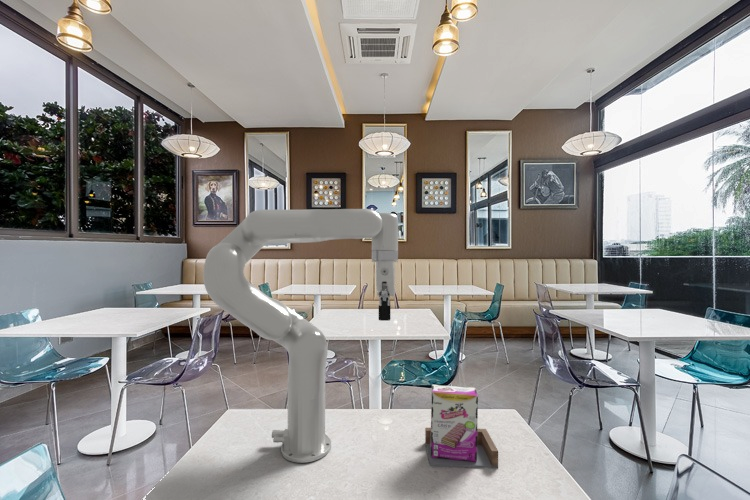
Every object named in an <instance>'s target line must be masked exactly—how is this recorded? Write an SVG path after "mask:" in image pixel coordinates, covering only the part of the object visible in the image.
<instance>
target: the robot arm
mask: <svg viewBox="0 0 750 500" xmlns="http://www.w3.org/2000/svg"><path fill="white" fill-rule="evenodd" d="M348 239H354V240H362V239H371V262H373V263H375V282H376V284H375V285H376V297H377V298H379V303H378V304H379V305H378V321H384V322H385V321H391V300H390V298H391V297H392V298H393V299H394V298H395V294H396V292H395V291H396V290H395V287H396V285H395V283H396V280H395V279H396V277H395V276H396V274H395V273H396V271H395V267H396V266H395V263H398V262H399V218H398V215H397V214H395V213H392V212H391V213H390V212H380V213H379V212H377V211H375V210H374V209H371V208H341V209H340V208H339V209H338V208H335V209H333V208H332V209H325V208H324V209H322V208H321V209H317V208H316V209H257V210H253V211H251V212H250V213H248V214H247V215H246V217H245V218H244V219H243V220H242V221H241V222H240V223H239V224H238V225H237V226H236V227H235V228H234V229H233V230H231V232H230V233H228V234H227V236H225V237H223V239H222V240H221V241H220V242H219V243H217V244H216V245H214V246H213V247H212V248H210V250H209V251H208V253H207V254H206V258H205V260H204V266H203V274H202V275H203V284H204V285H203V286H204V289H205V291H206V293H207V294H208V296H209V298H210V299H211V300H212V301H213V303H214V304H216V305H217V306H218V307H219V308H221V310H223V311H224V312H226V313H227V314H229V315H231V316H232V317H233V318H234V319H236V321H238V322H240V323H241V324H243V325H244V326H245V327H246V328H247V327H248V329H250V330H252V331H253V332H254V333H256V335H257V336H259V337H261V338H263V339H264V340H267V341H273V342H275V343H276V344H279V346H282V347H283V348H284V349H285V350H286V351H287V353H288V368H287V428H284V430H283V429H282V430H281V429H272V431H271V439H272V441H273V443H277V444H278V443H281V446H280V448H281V449H280V453H281V455H282V457H283V458H284V459H286V460H287V461H288V462H293V463H297V464H304V463H305V464H306V463H310V462H311V463H312V462H316V461H317V460H320V459H322V458H324V457H326V455H328V453H329V452H330V450H331V448H332V440H331V438H330V437H329V436H328V435H327V434H326V370H327V368H326V367H327V361H328V360H327V358H328V352H329V351H328V349H329V348H328V343H327V339H326V336H325V335H324V333H323V332H322V331H321V330H320V329H319V328H318V327H317V326H316V325H314V324H312V323H311V322H310V321H308V320H307V319H306V318H305V317H303V316H302V315H300V314H299V313H297V312H295V311H294V309H292V308H290V307H289V306H288V305H286V304H285V303H284V302H282V301H280V300H279V299H277V298H273V297H270V296H268V295H267V294H266V293H264V292H263V291H261V290H260V289H259V288H258V287H257V286H255V285H253V284H252V283H251V282H250V281H249V280H248V279H247V278H246V276H245V273H244V270H245V267H246V264H247V263H248V262H249V261H250V260H252V258H254V256H255V255H256V254H257V253H258V252H260V250H261V249H263V248H264V246H265V245H273V244H274V245H278V244H279V245H280V244H302V243H306V244H307V243H320V242H325V241H330V240H331V241H332V240H348Z"/></svg>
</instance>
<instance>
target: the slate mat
mask: <svg viewBox="0 0 750 500" xmlns="http://www.w3.org/2000/svg"><path fill="white" fill-rule="evenodd" d="M425 447H426V452H427V457H428V458H427V459H428V464H429V467H436V468H437V467H438V468H439V467H440V468H441V467H443V468H445V467H446V468H479V469H480V468H482V469H499V466H498V467H497V466H496V467H495V466H492V465H491V463H490V461H489V459H488V457H487V455H486V453H485V451H484V449H483V447H482V445H477V462H471V461H462V460H452V459H443V458H433V457H431V444H425Z"/></svg>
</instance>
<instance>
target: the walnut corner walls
mask: <svg viewBox="0 0 750 500" xmlns="http://www.w3.org/2000/svg"><path fill="white" fill-rule="evenodd" d="M424 434H425V435H424V437H425V439H424V440H425V445H426V444H431V427H425V429H424ZM477 445H482V447H483V449H484V451H485V453H486V455H487V457H488V459H489V461H490V463H491V465H492V466H495V467H496V466H497V467H498V468H499V450H498V448H497V447H496V444H495V442H494V441H493V438H492V437H491V435H490V433H489V432H488V430H487V428H477Z"/></svg>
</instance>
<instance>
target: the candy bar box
mask: <svg viewBox="0 0 750 500" xmlns="http://www.w3.org/2000/svg"><path fill="white" fill-rule="evenodd" d="M430 403H431V405H430V407H431V409H430V410H431V411H430V413H431V414H430V428H431V457H433V458H443V459H452V460H462V461H471V462H477V429H478V417H479V416H478V409H479V406H478V405H479V395H478V393H477V389H476V387H469V386H455V385H454V386H452V385H441V384H431V402H430Z"/></svg>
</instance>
